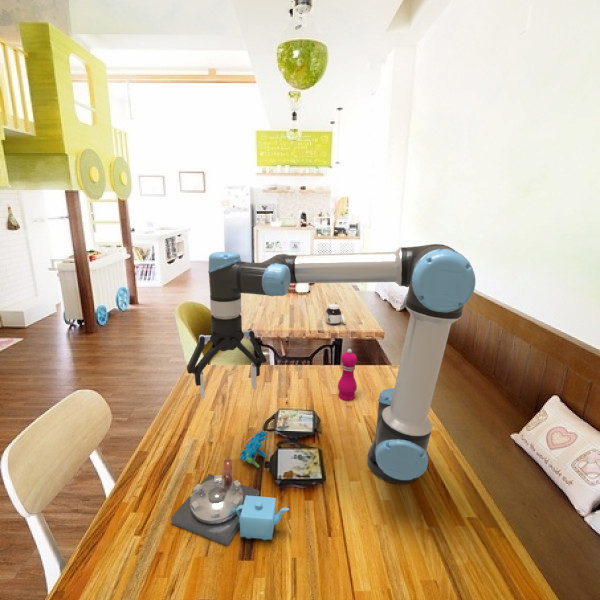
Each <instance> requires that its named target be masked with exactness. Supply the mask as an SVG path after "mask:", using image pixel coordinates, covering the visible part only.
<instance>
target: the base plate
mask: <svg viewBox="0 0 600 600" xmlns="http://www.w3.org/2000/svg"><path fill="white" fill-rule="evenodd" d="M215 476H216V475H214V474H210V473H209V474H207V475H206V477H205V478H204V479H203V480H202V481H201V482H200V483H199V484H200V485H201V484H203V483H204V482H206V481H209V480H212V479H214V477H215ZM241 488H242V491H243V503H242V505H243V504H244V501H245V497H246V495H248V496H260V490H259V489H256V488H253V487H250V486H248V485H244V484H241ZM192 494H193V492H192V493H191V494H190V495H189V496H188V497H187V499H185V501H183V503H182V504H181V505H180V506H179V507H178V508H177V510H176V511H175V512H174V513H173V514H172V516H171V517H170V518H171V524H172V525H173V526H176V527H179V528H180V529H183V530H186V531H189V532H192V533H194V534H197V535H198V536H201V537H203V538H206V539H208V540H211V541H214V542H216V543H218V544H221V545H224V546H225V547H228V546H229V544H230V543H231V542H232V540H233V538H234V537H235V536H236V534H237V532H238V531H239V530H240V528H239V527H240V523H239V518H240V517H239V516H238V515H237V514H236V515H235V516H233V517H232V518H230V519H229V520H227V521H224V522H221V523H216V524H208V523H203V522H201V521H199V520H197V519H196V518H195V517H194V516H193V514H192V512H191V507H190V499H191V496H192ZM239 511H240V513H241V512H242V509H240V510H239Z"/></svg>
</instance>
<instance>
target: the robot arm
mask: <svg viewBox="0 0 600 600" xmlns="http://www.w3.org/2000/svg"><path fill="white" fill-rule="evenodd" d="M207 273H208V278H209V279H208V280H209V281H208V282H209V301H210V302H209V305H210V315H211V316H210V326H211V332H210V334H208V335H204V334H203V333H200V334H198V340H197V341H198V342H197V345H196V346H195V349H194V350H193V352H192V355H191V357H190V360H189V361H188V364H187V366H186V371H187V373H188V374H190V375H191V374H192V375H194V383H195V385H196V387H198V386H199V393H200V397H201V399H205V398H206V397H205V380H204V378H205V377H204V373H203V371H204V369H205V368H206V366H208V365H209V363H210V361H211V360H212V359H213V358H214V357H215V355H217V354H218V353H219V351H221V352H227V351H235V349H238V350H239V351H241V352H242V353H243V354H244V355H245V356H246V357H247V358H248V359H249V360H250V361H251V363H250V384H251V387H252V389H253V390H257V389H258V388H257V377H259V376H260V375H261V366H262V364H265V363H267V361H268V360H267V357H266V356H265V354H264V353H263V351H262V349H261V347H260V345H259V344H258V342H257V339H256V335H255V332H254V330H253V329H252V328H248V329H247V330H245V331H243V328H242V327H243V326H242V325H243V322H242V321H243V320H242V315H241V314H242V294H248V295H249V294H250V295H258V296H259V295H260V296H268V297H283V296H284V297H285V296H286V295H287V294H288V293H289V289H290V287H291V285H293V284H334V283H335V284H337V283H338V284H341V283H342V284H344V283H345V284H346V283H351V284H352V283H357V284H358V283H359V284H360V283H396V284H397V285H398V286H400V287H408V290H407V295H406V300H405V304H404V305H405V309H406V310H407V312H408V313H409V314H410V316H409V319H408V324H407V328H406V329H407V330H406V332H405V333H406V334H405V338H404V342H403V346H402V347H403V348H402V352H401V357H400V360H399V361H400V362H399V366H398V370H397V375H396V380H395V385H394V387H392V388H391V387H390V388H386V389H385V388H384V389H382V390H381V391H380V393H379V397H378V400H377V401H378V405H377V408H378V409H377V417H376V418H377V419H376V426H375V427H376V428H375V437H374V439H373V441H372V442H371V446H370V447H369V449H368V452H367V461H366V462H367V466H368V468H369V470H370V472H372V473H373V474H374V475H375V476H376V477H378V478H379V479H381V480H383V481H386V482H389V483H391V484H397V485H403V484H404V485H406V484H411V483H413V482H415V481H417V479H419V478H420V477H421V476H422V475H424V474H425V472H426V470H427V468H428V464H429V455H428V446H429V441H430V438H431V433H432V430H433V424H432V421H431V420H430V418H429V417H428V416H429V413H430V409H431V405H432V401H433V397H434V395H435V394H434V393H435V389H436V386H437V382H438V377H439V374H440V370H441V365H442V362H443V358H444V354H445V351H446V346H447V342H448V338H449V334H450V330H451V326H452V325H453V323H455V322H457V321H458V320H460V319H461V318H462V316H463V315H462V314H463V310H464V307H465V305H466V304H468V302H469V301H470V299H471V298H472V296H473V294H474V292H475V289H476V274H475V271H474V268H473V266H472V264H471V262H470V261H469V260H468V259H467V257H466V256H465V255H463V254H462V253H460V252H459V251H457V250H455V249H454V248H452V247H450V246H448V245H446V244H440V243H433V244H424V245H419V246H418V245H417V246H407V247H406V246H405V247H403V246H402V247H398V249H397V250H395V251H383V252H379V251H377V252H355V253H354V252H352V253H351V252H350V253H348V252H347V253H322V254H320V253H319V254H316V253H315V254H297V255H295V254H294V255H293V254H291V255H290V254H287V253H281V254H275V255H273V256H272V257H270V258H269V259H266V260H264V261H262V262H247V261H242V259H241V255H240V253H239V252H235V251H216V252H212V253H211V254H209V257H208V271H207ZM244 337H245V338H246V339H247V340H249V341H250V343H251V344H252V346H253V348H254V350H255V351H256V353H257V355H258V357H256V356H255V355H254V354H253V353H252V352H251V351H250V350H249V349H248V348H247V347H246V346H245V345H244V344H243V343H242V340H243V339H244ZM209 341H210V342H211V343H212V344H211V346H210V347H209V349H208V350H207V351H206V353H205V354H204V355H203V357H202V358H201V359H200V357H201V355H202V353H203V351H204V349H205V345H207V344H208V343H209ZM199 359H200V360H199Z"/></svg>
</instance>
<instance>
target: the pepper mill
mask: <svg viewBox="0 0 600 600" xmlns="http://www.w3.org/2000/svg"><path fill="white" fill-rule="evenodd" d="M340 361H341V363H342V364H341V369H342V374H341V377H340V379H339V380H338V382H337V389H338V398H339V399H340V400H342V401H344V402H350V401H351V402H352V401H353V400H355V398H356V397H355V396H356V393H355V392H356V391H357V387H358V386H357V385H358V384H357V382H356V379H355V378H356V377H355V374H354V372H355V370H356V364H357V362H358V357H357V355H356V354H355V353H354V352H353V351H352V349H351V348H348V349H347V351H346V352H344V353H343V354H342V355H341V358H340Z"/></svg>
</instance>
